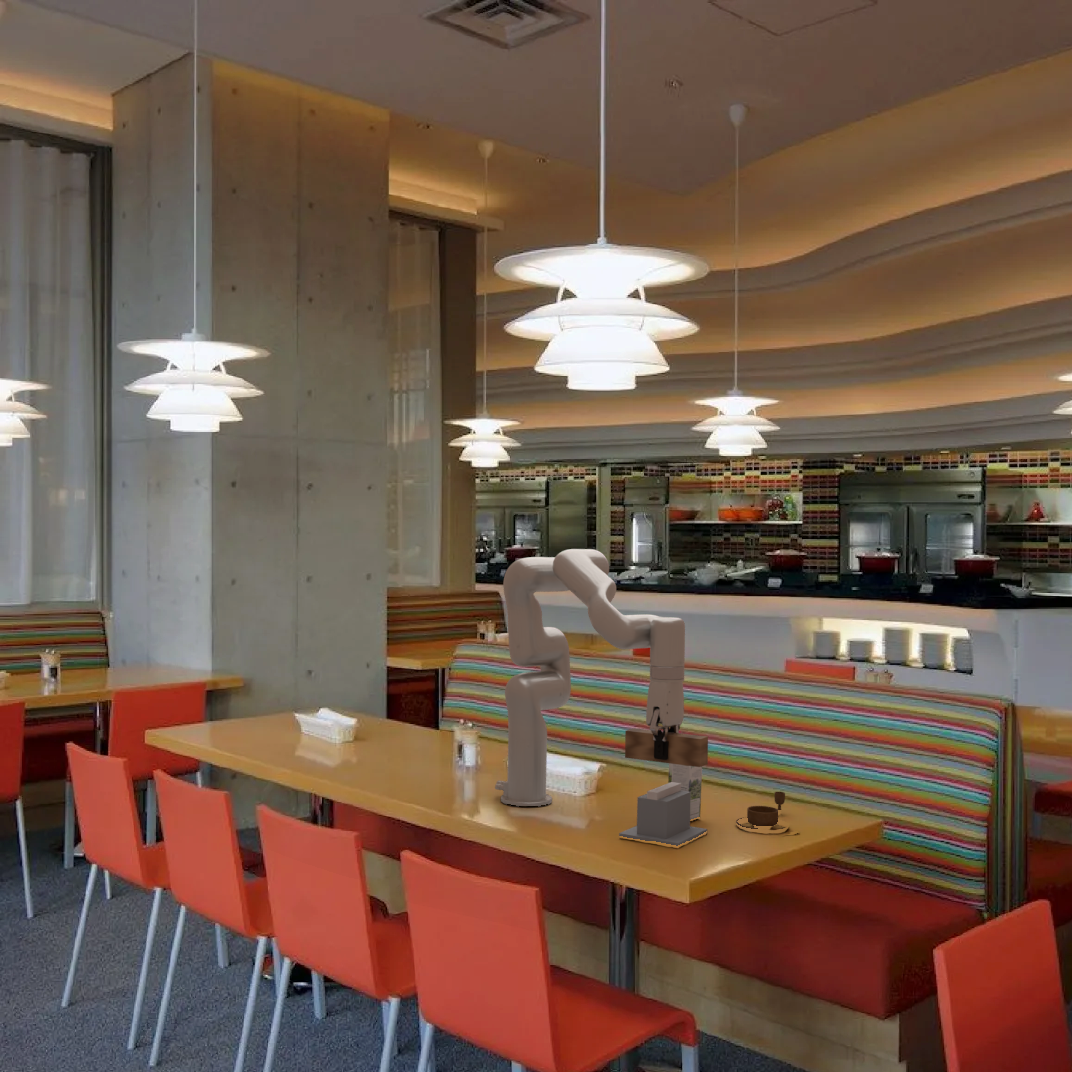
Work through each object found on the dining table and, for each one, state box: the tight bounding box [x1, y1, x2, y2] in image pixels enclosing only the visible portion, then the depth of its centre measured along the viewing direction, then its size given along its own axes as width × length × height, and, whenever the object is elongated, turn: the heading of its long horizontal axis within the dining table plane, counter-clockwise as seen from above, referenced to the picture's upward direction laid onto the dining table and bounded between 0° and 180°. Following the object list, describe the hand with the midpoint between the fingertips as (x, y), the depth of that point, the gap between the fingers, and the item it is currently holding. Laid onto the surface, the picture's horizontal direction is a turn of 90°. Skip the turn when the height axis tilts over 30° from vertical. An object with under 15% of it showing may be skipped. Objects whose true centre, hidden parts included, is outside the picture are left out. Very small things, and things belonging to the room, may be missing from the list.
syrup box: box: [667, 763, 703, 820], centre depth 275 cm, size 6×6×14 cm
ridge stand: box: [618, 782, 708, 846], centre depth 259 cm, size 14×15×11 cm
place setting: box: [735, 791, 786, 829], centre depth 271 cm, size 18×20×6 cm
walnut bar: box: [624, 728, 709, 768], centre depth 258 cm, size 18×4×6 cm, turn 58°
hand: (665, 756), depth 258 cm, fingers closed on walnut bar, 4 cm apart
